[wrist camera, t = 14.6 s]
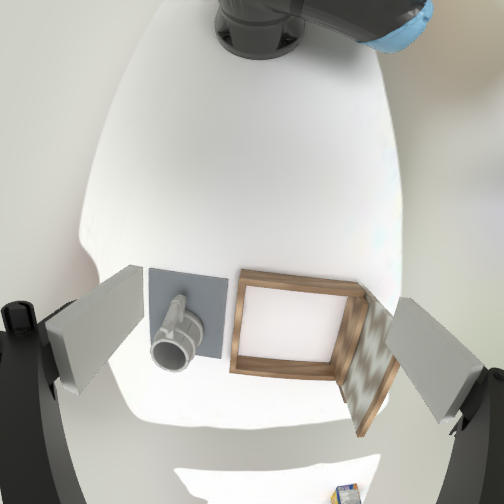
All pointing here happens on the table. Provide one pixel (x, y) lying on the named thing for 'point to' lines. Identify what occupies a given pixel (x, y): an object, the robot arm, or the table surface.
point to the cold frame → (345, 351)
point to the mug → (177, 337)
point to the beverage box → (346, 495)
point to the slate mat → (190, 304)
